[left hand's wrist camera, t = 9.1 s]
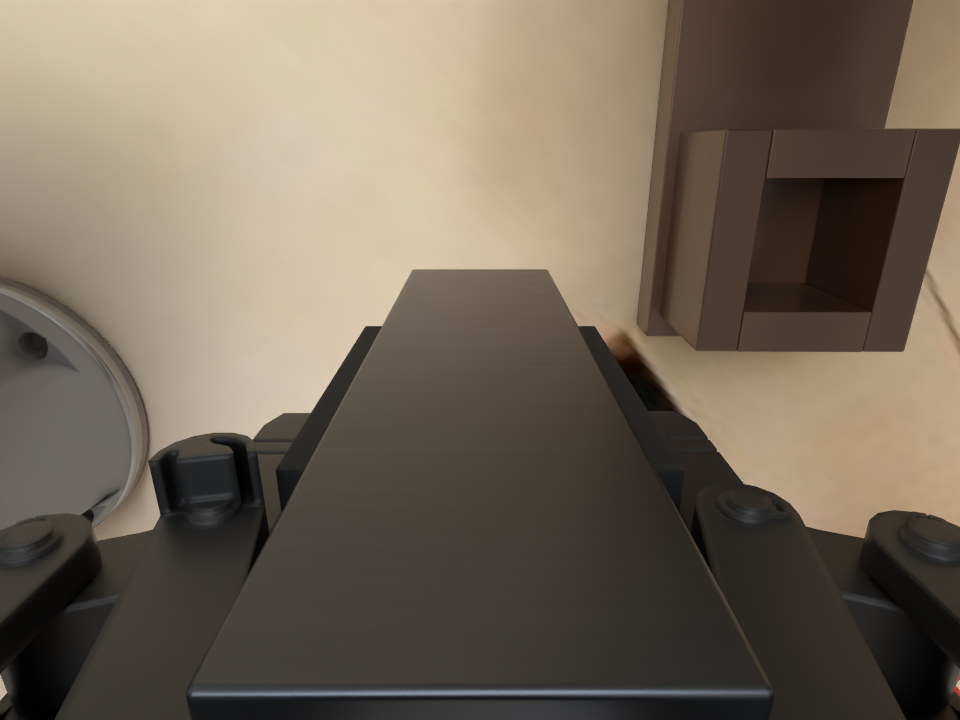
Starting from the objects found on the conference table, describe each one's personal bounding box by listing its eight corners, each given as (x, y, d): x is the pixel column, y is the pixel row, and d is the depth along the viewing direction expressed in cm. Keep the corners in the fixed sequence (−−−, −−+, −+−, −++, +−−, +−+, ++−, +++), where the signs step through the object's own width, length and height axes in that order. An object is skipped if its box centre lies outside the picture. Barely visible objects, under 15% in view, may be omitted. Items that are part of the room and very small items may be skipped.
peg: (417, 394, 18) (260, 1018, 5) (411, 269, 17) (178, 693, 4) (542, 394, 18) (701, 1017, 5) (548, 269, 17) (782, 691, 4)
